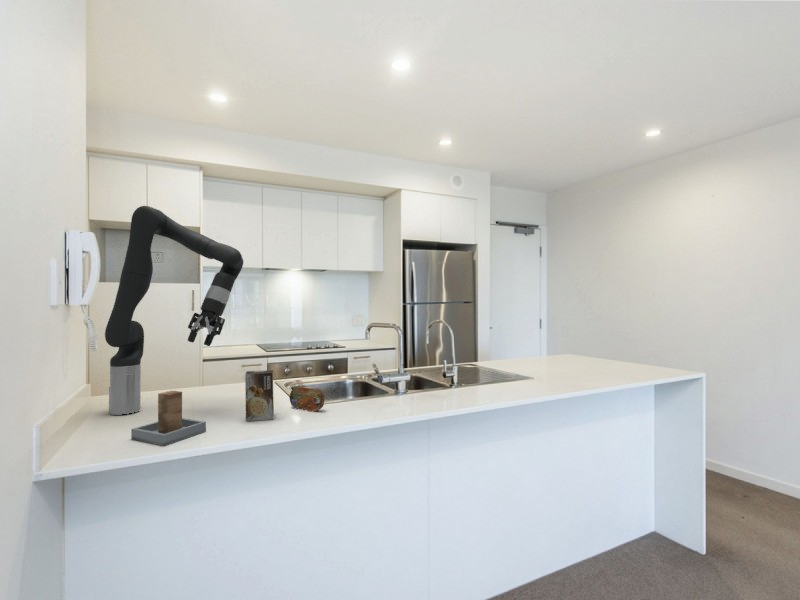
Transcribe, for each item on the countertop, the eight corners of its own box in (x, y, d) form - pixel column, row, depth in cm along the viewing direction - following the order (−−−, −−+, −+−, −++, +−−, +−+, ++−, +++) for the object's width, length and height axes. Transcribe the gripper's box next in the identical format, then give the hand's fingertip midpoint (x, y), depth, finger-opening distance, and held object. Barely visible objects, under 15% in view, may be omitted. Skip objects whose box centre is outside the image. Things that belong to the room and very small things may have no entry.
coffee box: (274, 414, 146) (274, 369, 146) (273, 419, 140) (273, 372, 140) (246, 416, 143) (246, 370, 143) (244, 421, 137) (244, 374, 137)
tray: (131, 439, 120) (131, 429, 120) (174, 425, 133) (174, 416, 133) (164, 446, 114) (164, 435, 114) (205, 431, 127) (205, 421, 127)
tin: (288, 408, 155) (288, 385, 155) (294, 406, 158) (294, 384, 158) (320, 413, 148) (320, 390, 148) (325, 411, 151) (325, 388, 151)
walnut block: (158, 433, 123) (158, 393, 123) (171, 429, 127) (171, 390, 127) (168, 435, 121) (168, 394, 121) (182, 431, 125) (182, 391, 125)
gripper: (194, 295, 148) (176, 337, 143) (221, 298, 141) (203, 343, 136) (210, 302, 154) (193, 343, 149) (237, 306, 147) (220, 349, 143)
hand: (198, 343), depth 143 cm, fingers open, 8 cm apart
